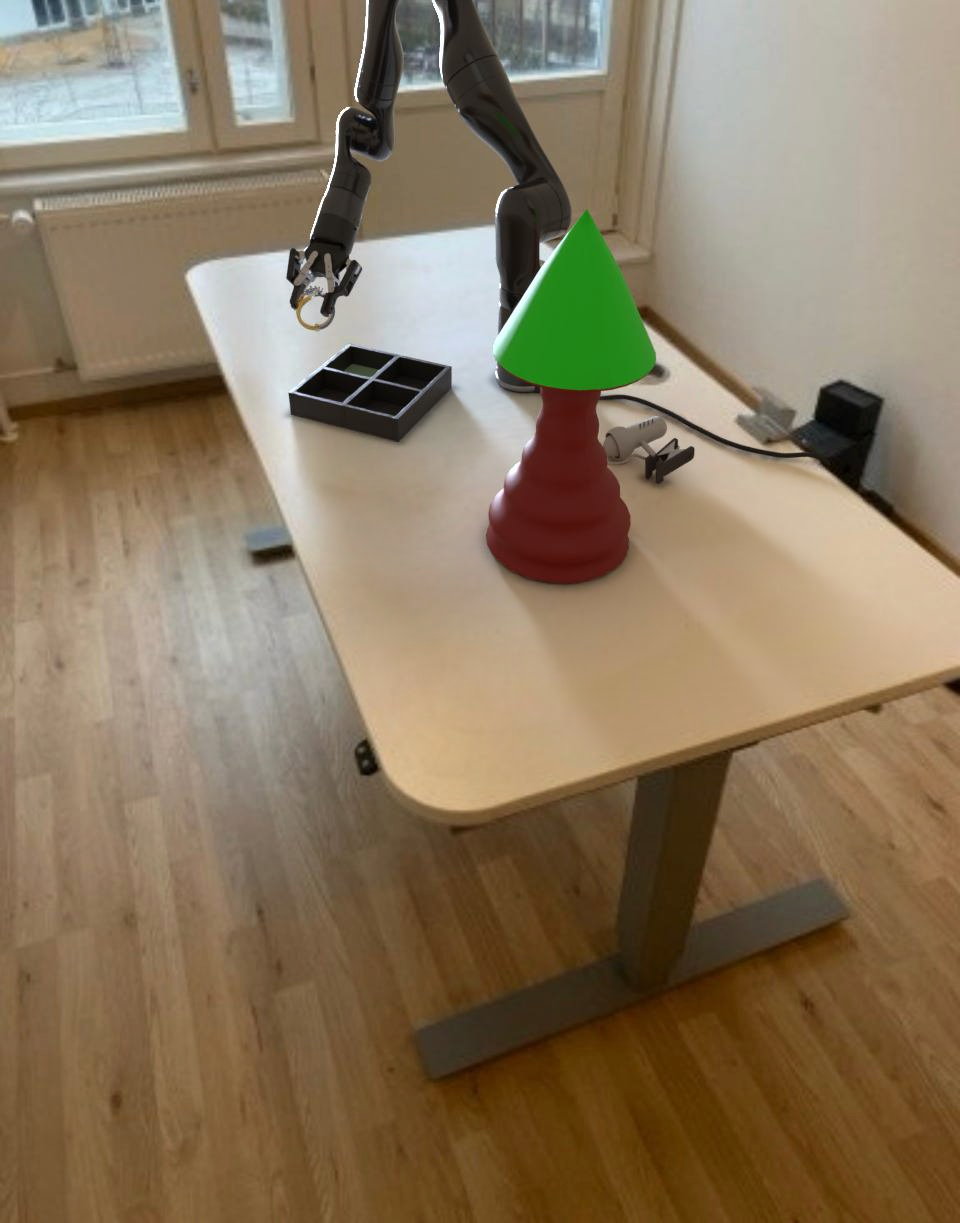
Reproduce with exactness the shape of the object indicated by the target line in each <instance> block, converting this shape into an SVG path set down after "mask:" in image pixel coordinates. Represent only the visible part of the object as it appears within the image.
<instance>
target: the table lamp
mask: <svg viewBox="0 0 960 1223" xmlns="http://www.w3.org/2000/svg"><path fill="white" fill-rule="evenodd" d="M545 261H546V262H545V263H544V265H543V266H542V267H541V269H540V270H539V272H538V273H537V275H536V277H535V278H534V280H533V281H532V283H531V285H530V286H529V288H528V289H527V291H526V292H525V294H524V296H523V297H522V299H521V300H520V302H519V303H518V305H517V307H516V308H515V310H514V311H513V313H512V314H511V316H510V318H509V319H508V321H507V322H506V324H505V326H504V327H503V329H502V330H501V332H500V333H499V335H498V334H497V336H496V338H495V340H494V341H493V344H492V353H493V357H494V360H495V359H496V361H495V362H496V363H497V362H498V364H499V365H500V367H502V368H503V369H504V370H505V371H506V372H507V373H509V374H510V375H512V376H514V377H516V378H517V379H519V380H522V381H524V382H527V383H529V384H532V385H536V386H539V387H540V391H541V392H540V396H541V401H542V404H541V408H540V410H539V413H538V414H537V416H536V421H535V433H534V435H533V436H532V437H531V438H530V439H529V440H528V441H527V442H526V444H525V445H524V447H523V449H522V453H521V459H520V460H519V461H518V462H517V463H515V464H514V465H513V466H512V468H510V469H509V471H508V472H507V473H506V475H505V478H504V481H503V487H502V488H501V489H500V490H499V491H498V492H497V493H496V494H495V495H494V496H493V498H492V500H491V502H490V504H489V508H488V521H489V524H488V526H487V527H486V528H487V529H486V534H485V538H486V545H487V548H488V549H489V551H490V553H491V554H492V555H493V556H494V558H495V559H496V560H497V561H498V562H499V563H500V564H502V566H505V567H506V568H507V569H508V570H510V571H512V572H514V573H516V574H517V575H519V576H521V577H525V578H527V579H531V580H534V581H540V582H545V583H553V584H554V583H555V584H578V583H582V582H588V581H591V580H594V579H597V578H600V577H602V576H604V575H607V574H608V573H610V572H612V571H614V570H615V569H616V568H617V567H619V566H620V565H621V564H622V563H623V562H624V560H625V558H626V557H627V554H628V551H629V548H630V539H629V536H628V534H629V531H630V528H631V526H632V523H631V522H632V521H631V520H632V519H631V517H632V516H631V513H630V510H629V508H628V506H627V503H626V502H625V501H624V500H623V498H622V497H621V485H620V482H619V480H618V478H617V476H616V475H615V474H614V473H613V471H612V470H611V469H610V468H609V467H608V465H607V464H608V462H609V460H608V455H607V454H606V451H605V449H604V447H603V443H601V441H600V439H599V433H600V420H599V416H598V413H597V406H598V403H599V401H600V400H599V398H600V396H602V392H606V391H613V390H617V389H621V388H624V387H628V386H630V385H633V384H635V383H638V382H640V381H641V380H643V379H644V378H645V377H646V376H648V375H649V373H650V372H651V371H653V369H654V367H655V364H656V363H657V352H656V350H655V347H654V345H653V343H652V340H651V338H650V336H649V335H650V334H649V333H648V331H647V328H646V326H645V324H644V322H643V319H642V316H641V314H640V312H639V310H638V307H637V305H636V303H635V300H634V298H633V295H632V293H631V291H630V289H629V285H628V283H627V282H626V279H625V276H624V274H623V272H622V271H621V269H620V267H619V265H618V263H617V261H616V258H615V257H614V255H613V253H612V251H611V249H610V246H609V245H608V244H607V242H606V240H605V238H604V236H603V235H602V233H601V231H600V230H599V228H598V226H597V224H596V222H595V220H594V218H593V217H592V215H591V214H590V211H589V210H588V208H586V209H585V210H584V212H583V213H582V214H581V215H580V216H579V218H578V219H577V221H576V222H575V223H574V224H573V225H572V227H571V228H570V229H569V230H568V232H566V234H565V235H564V237H563V238H562V240H561V241H560V242H559V243H558V245H557V246H556V247H555V249H554V250H553V251H552V253H550V255H549V257H548V258H547V259H546V260H545Z"/></svg>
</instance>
